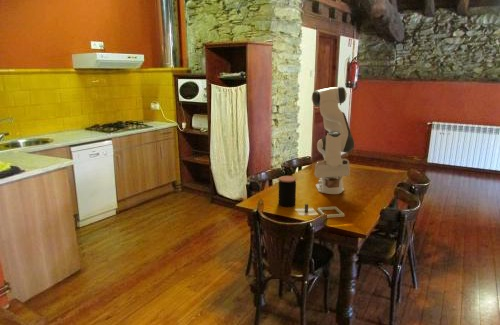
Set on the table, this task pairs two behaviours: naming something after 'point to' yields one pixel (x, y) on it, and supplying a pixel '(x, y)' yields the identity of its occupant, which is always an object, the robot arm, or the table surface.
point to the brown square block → (332, 182)
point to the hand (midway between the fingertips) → (331, 184)
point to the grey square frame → (331, 214)
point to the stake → (306, 211)
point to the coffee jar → (287, 191)
